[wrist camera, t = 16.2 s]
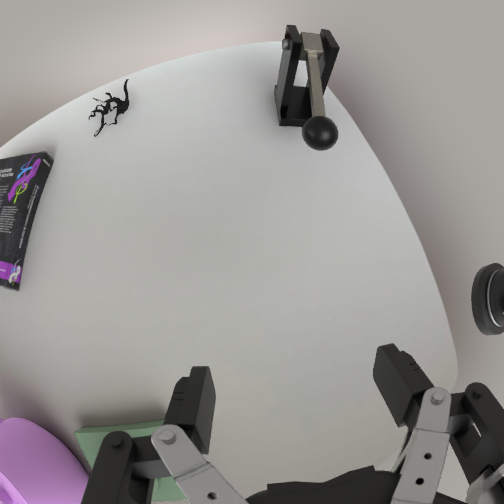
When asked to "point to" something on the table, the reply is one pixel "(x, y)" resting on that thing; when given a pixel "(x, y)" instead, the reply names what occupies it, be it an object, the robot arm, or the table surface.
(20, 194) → the box
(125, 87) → the creature
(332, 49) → the black lever mount
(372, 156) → the table surface
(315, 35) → the lever
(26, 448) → the teapot
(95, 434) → the control block
